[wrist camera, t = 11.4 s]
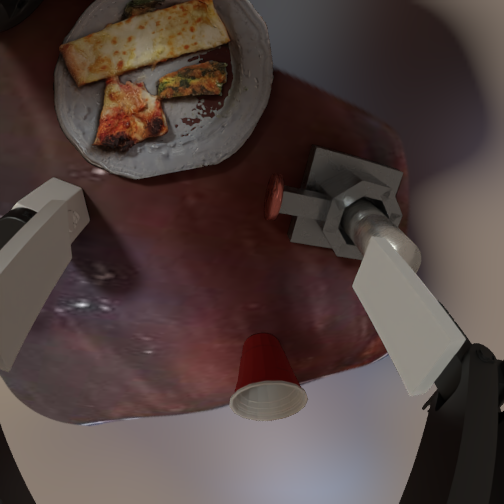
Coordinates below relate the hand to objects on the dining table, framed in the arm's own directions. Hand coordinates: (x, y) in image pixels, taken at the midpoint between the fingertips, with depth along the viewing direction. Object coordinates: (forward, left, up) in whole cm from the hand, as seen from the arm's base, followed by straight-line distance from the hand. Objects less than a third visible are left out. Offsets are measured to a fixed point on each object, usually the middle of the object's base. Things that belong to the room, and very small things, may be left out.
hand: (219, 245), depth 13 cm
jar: (+11, -20, -25) cm, 34 cm away
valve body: (+4, +14, -25) cm, 29 cm away
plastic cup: (+30, +11, -25) cm, 41 cm away
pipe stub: (+4, +16, -23) cm, 28 cm away
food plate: (-7, -9, -26) cm, 28 cm away
